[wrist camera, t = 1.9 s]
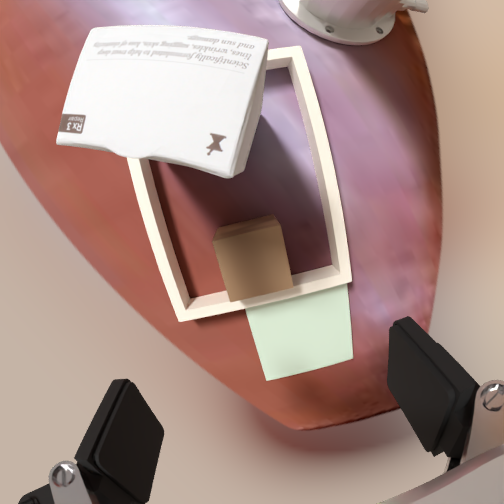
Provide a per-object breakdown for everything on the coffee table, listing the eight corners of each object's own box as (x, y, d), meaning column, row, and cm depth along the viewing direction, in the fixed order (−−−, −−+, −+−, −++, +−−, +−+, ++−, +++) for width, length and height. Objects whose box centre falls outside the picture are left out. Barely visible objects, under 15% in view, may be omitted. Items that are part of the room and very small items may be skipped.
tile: (343, 276, 27) (346, 279, 26) (350, 354, 29) (353, 358, 29) (244, 301, 27) (244, 305, 26) (266, 376, 30) (266, 380, 29)
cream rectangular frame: (295, 56, 21) (300, 45, 18) (343, 271, 26) (352, 281, 24) (125, 100, 21) (114, 95, 19) (184, 309, 27) (179, 321, 25)
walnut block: (273, 214, 25) (280, 224, 20) (284, 266, 26) (293, 287, 21) (218, 227, 25) (212, 241, 20) (232, 278, 26) (230, 302, 22)
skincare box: (261, 111, 22) (286, 35, 8) (242, 176, 24) (242, 184, 9) (169, 92, 21) (91, 18, 7) (151, 155, 23) (47, 146, 9)
